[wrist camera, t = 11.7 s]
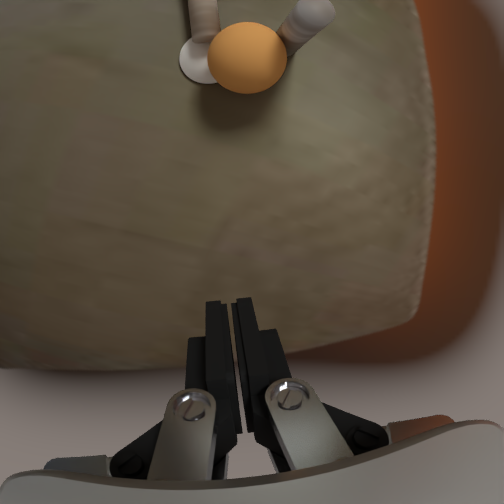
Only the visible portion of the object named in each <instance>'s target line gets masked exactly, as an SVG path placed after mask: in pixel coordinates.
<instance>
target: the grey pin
mask: <svg viewBox="0 0 504 504" xmlns="http://www.w3.org/2000/svg"><path fill="white" fill-rule="evenodd" d="M334 18H335V9H334V7H333V5H332V4H331V3H330V2H329V1H328V0H299V2H298V3H297V4H296V6H295V7H294V8H293V10H292V11H291V12H290V14H289V15H288V16H287V18H286V19H285V20H284V22H283V23H282V25H281V26H280V27H279V29H278V30H277V32H276V34H277V35H278V36H279V37H280V38H281V40H282V41H283V43H284V45H285V48H286V53H287V56H290V55H292V54H294V53H295V52H296V51H297V50H298V49H299V48H301V47H302V46H303V45H304V44H305V43H306V42H308V41H309V40H310V39H311V38H312V37H314V36H315V35H316V34H317V33H318V32H320V31H321V30H322V29H323V28H325V27H326V26H327V25H328V24H330V23H331V22H332V21H333V20H334Z"/></svg>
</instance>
